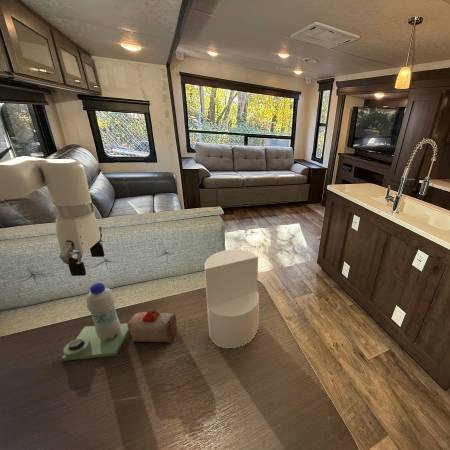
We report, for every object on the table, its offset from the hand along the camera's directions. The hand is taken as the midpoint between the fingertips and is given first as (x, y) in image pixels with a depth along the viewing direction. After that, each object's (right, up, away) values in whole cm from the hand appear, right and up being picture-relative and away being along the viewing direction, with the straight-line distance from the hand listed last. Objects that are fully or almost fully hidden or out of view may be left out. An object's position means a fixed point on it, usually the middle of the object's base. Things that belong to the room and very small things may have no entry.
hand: (89, 265), depth 70 cm
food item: (+11, -26, +13) cm, 31 cm away
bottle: (-2, -25, +11) cm, 27 cm away
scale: (-4, -26, +9) cm, 28 cm away
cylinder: (+36, -26, +19) cm, 49 cm away
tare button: (-7, -25, +4) cm, 27 cm away
